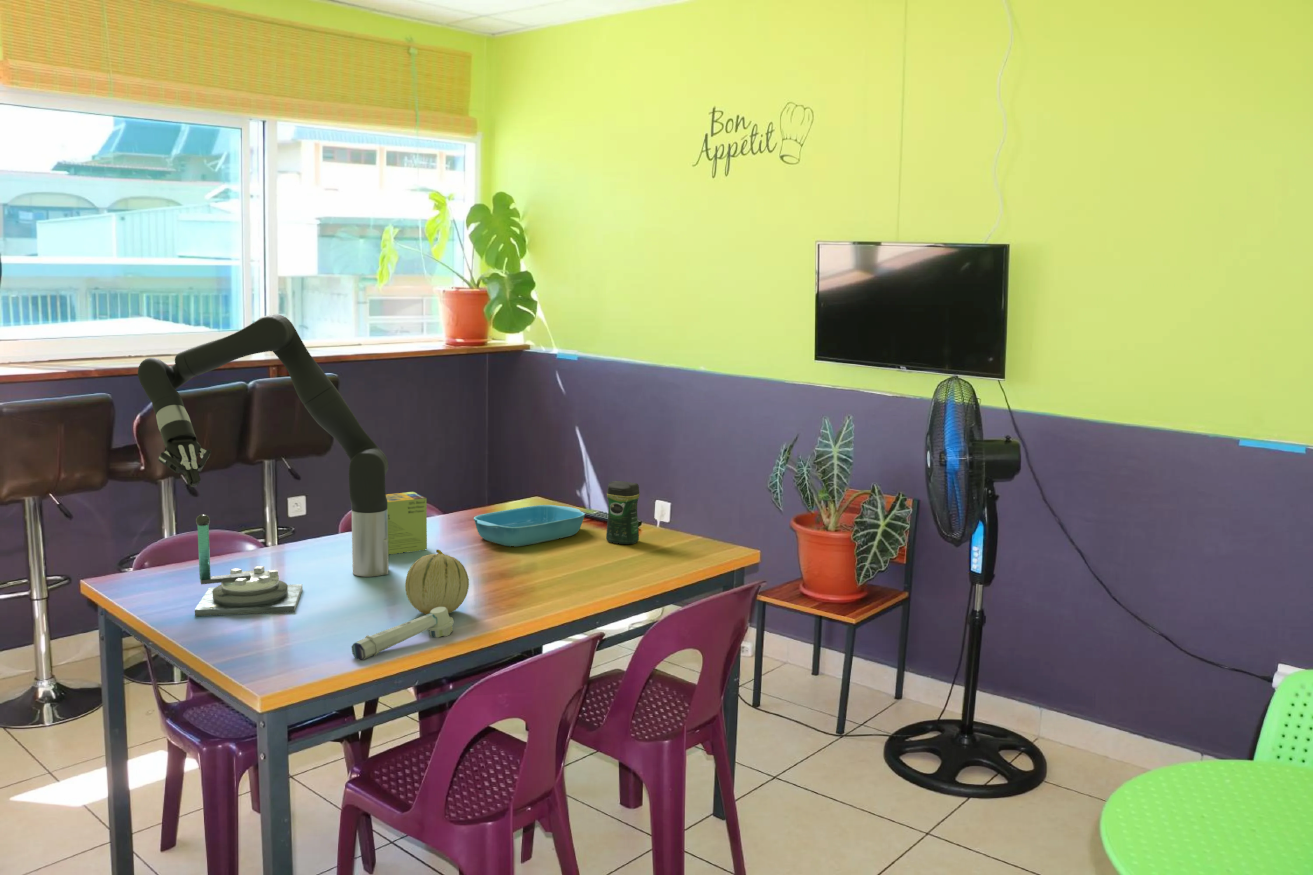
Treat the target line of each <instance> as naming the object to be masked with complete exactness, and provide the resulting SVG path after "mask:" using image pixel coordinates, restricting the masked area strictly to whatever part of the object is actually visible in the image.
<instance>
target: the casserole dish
mask: <svg viewBox="0 0 1313 875" xmlns="http://www.w3.org/2000/svg"><path fill="white" fill-rule="evenodd" d="M585 517H586V512H583V511H582V510H580V509H579V508H575V507H571V506H563V505H555V504H539V505H530V506H524V507H518V508H512V509H505V510H499V511H494V512H488V513H484V514H478V515H476V516H474V517H473V521H474V524H475V527H476V530H477V533H478V535H479V536H480V537H481V538H482V539H483V540H485V541H487V542H490V543H495V544H497V545H501V546H505V547H511V546H514V547H525V546H528V545H535V544H540V543H545V542H549V541H554V540H555V541H556V540H558V539H559V538H560V539H564V538H567V537H572V536H574V535H575V534H577V533H578V532H579V531H580V529H581V527H582V524H583V521H584V519H585ZM560 539H559V540H560ZM514 547H513V548H514Z"/></svg>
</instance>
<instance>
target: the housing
mask: <svg viewBox="0 0 1313 875" xmlns="http://www.w3.org/2000/svg"><path fill="white" fill-rule="evenodd" d="M302 593H303V584H301V583H299V584H287V583H286V582H285V581H282V580H279V588H278V589H276V590H275V591H272V592H269V593H266V594H261V595H254V596H232V595H227V594H224V593H223V592H222V590H221V584H220V585H219V584H218V585H217V586H216V587H215V586H214V587H208V589H207V590H206V592H205V593H204V595H203V596H202V598H201V600H200V601H199V603H198V604H197V605H196V607H195V609H194V617H206V616H209V617H210V615H211V616H228V615H229V616H231V615H232V616H234V615H254V614H257V615H259V614H280V613H281V614H282V613H284V614H285V613H295V612H296V609H297V607H298V604H299V601H300V597H301V595H302Z"/></svg>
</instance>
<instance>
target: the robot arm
mask: <svg viewBox="0 0 1313 875" xmlns="http://www.w3.org/2000/svg"><path fill="white" fill-rule="evenodd" d="M267 352H273V353H274V354H275V355H276V357H277V358H278V359H279V361H280V362H281V363H282V364H283V366H284V367H285V369H286V370H287V372H288V374H289V377H290V380H291V382H292V386H293V387H294V389H295V392H296V394H297V396H298V399H299V401H300V402H301V403H302V406H304V408H305V409H306V411H307V412H308V413H309V415H310V416H311V417H312V419H313V420H314V421H315V422H316V423H317V425H319V427H321V428H322V429H323V430H325V431H326V432H327V434H328V435H330V436H331V437H332V438H334V440H336V441H337V442H338V444H339V445H340V446H341V448H342V449H343V451H344V452H345V454H346V456H347V457H348V459H349V461H350V462H349V466H348V485H349V486H348V488H349V489H348V490H349V501H350V503H351V504H350V506H351V543H352V544H351V548H352V552H351V553H352V554H351V556H352V574H353V575H355V576H357V577H379V576H383V575H385V576H386V575H389V569H390V568H389V566H390V564H389V558H390V557H389V555H388V516H387V498H386V494H387V493H386V474H387V473H388V470H389V461H388V458H387V455H386V454H385V453H384V452H383V450H382V449H381V448H380V447H379V445H377V444H376V443H375V442H374V441H373V439H372V438H371V437H370V436H369V435H368V433H367V432H366V431H365V430H364V428H363V427H362V426H361V424H360V423H359V421H358V419H357V417H356V416H355V414H354V413H353V412H352V410H351V408H350V407H349V405H348V404H347V402H346V400H345V399H344V397H343V396H342V394H341V393H340V392H339V390H338V389H337V388H336V386H335V385H334V384H333V382H332V381H331V380H330V378H329V377H328V376H327V375H326V373H325V371H324V370H323V369H322V367H321V366H319V364H318V363H317V361H316V360H315V359H314V358H313V356H312V355H311V353H310V352H309V350H308V348H307V347H306V346H305V343H304V342H303V340H302V338H301V337H300V335H299V333H298V331H297V330H296V328H295V326H294V325H293V322H292V321H291V320H290V319H288V318H287V317H286V316H284V315H282V314H279V313H273V314H272V313H271V314H268V315H264V316H261V317H260V318H258V319H257V320H256V321H253V322H252V323H250V324H249V325H247V326H245V327H244V328H242V329H240V330H237V331H236V332H234V333H231V334H229V335H228V336H224V337H222V338H218V339H215V340H211V341H208V342H205V343H202V344H199V345H196V346H194V347H190V348H188V349H186V350H183V351H180V352H179V353H177V354H175V355H176V356H174V364H173V365H168V364H167V363H165V362H164V361H162V360H161V359H159V358H156V357H148V358H145V359H143V360H142V361H141V363H139V366H138V369H137V377H138V380H139V383H140V384H141V385H140V386H141V387H142V389H143V390H144V392H145V395H147V397H148V399H149V401H150V402H151V405H152V409H153V412H154V414H155V416H156V423H157V426H158V428H157V429H158V430H159V433H160V436H161V439H162V441H163V445H164V447H165V448H164V452H163V451H162V452H161V453H160V455H159V456H158V459H157V460H158V462H160V463H161V464H163V465H164V466H165V467H167V468H169V470H170V471H173V472H174V473H175V474H180V473H181V474H183V475H184V478H185V480H186V484H188V486H189V487H190V488H194V487H198V486H199V484H200V483H201V476H200V474H199V473H200V472H202V470H203V468H204V467H205V465H206V463H207V461H208V460H209V458H210V456H211V453H212V449H209V448H207V449H205V448H202V446H201V444H200V443H199V442H198V439H197V435H196V434H195V430H194V426H193V424H192V422H191V418H190V416H189V414H188V412H187V410H186V407H185V404H184V402H183V398H182V396H181V394H180V393H179V391H178V390H176V389H179V387H182V386H183V385H184V384H186V383H187V382H189V381H190V380H191V379H192V378H194V377H197V376H201V375H203V374H205V373H208V372H211V371H214V370H216V369H218V368H221V367H222V366H225V365H226V364H230V363H231V362H234V361H236V360H238V359H241V358H244V357H247V356H251V355H256V354H260V353H267ZM199 454H200V455H199ZM198 455H199V457H200V458H201V460H200V462H199V463H197V458H198Z"/></svg>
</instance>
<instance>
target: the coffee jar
mask: <svg viewBox="0 0 1313 875" xmlns="http://www.w3.org/2000/svg"><path fill="white" fill-rule="evenodd" d="M640 494H641V493H640V487H639V484H638V483H637V482H630V481H624V480H614V481H610V482H608V485H607V490H606V498H607V503H608V509H607V510H608V511H607V512H608V513H607V522H606V534H605V536H606V538H605V539H606V541H607V542H609V543H612V542H613V544H618V543H619V544H620V545H629V544H633V545H634V544H636V543H637V542H638V541H639V540H640V532H639V519H638V518H639V517H638V500H639V498H640ZM619 544H618V545H619Z"/></svg>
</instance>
